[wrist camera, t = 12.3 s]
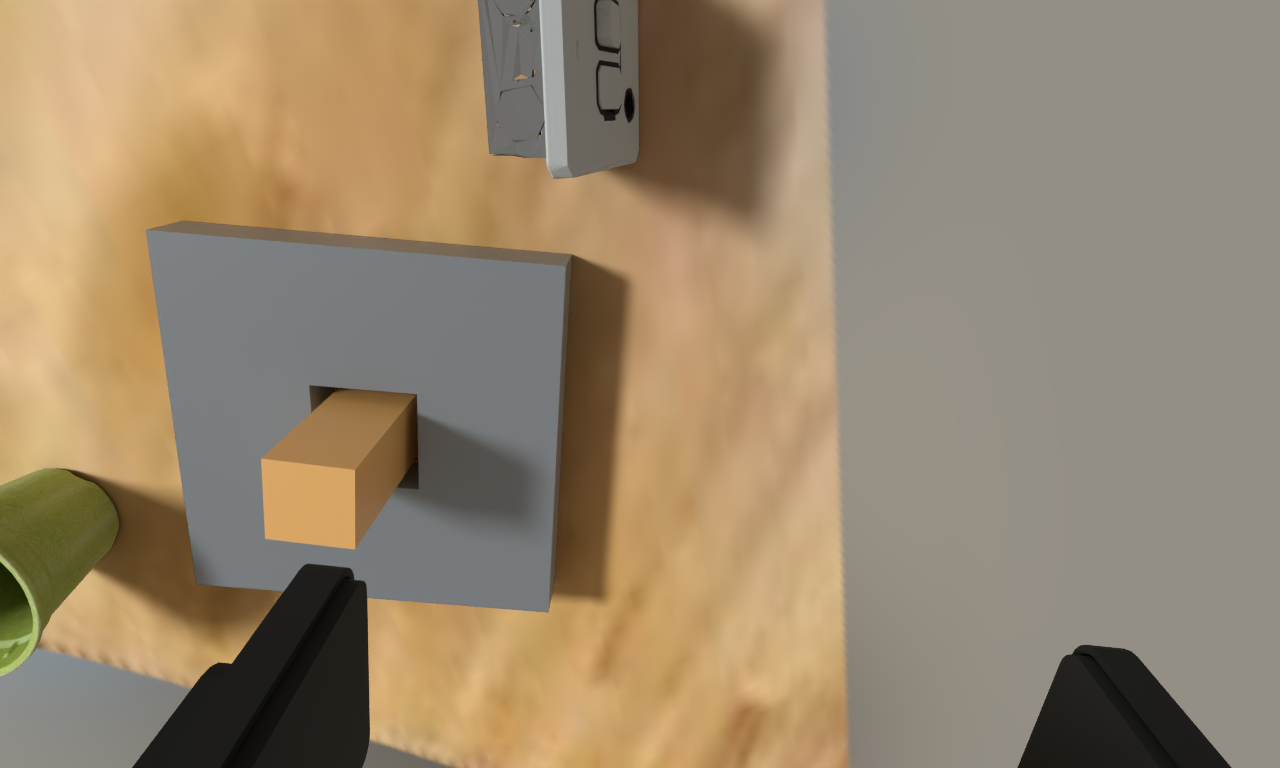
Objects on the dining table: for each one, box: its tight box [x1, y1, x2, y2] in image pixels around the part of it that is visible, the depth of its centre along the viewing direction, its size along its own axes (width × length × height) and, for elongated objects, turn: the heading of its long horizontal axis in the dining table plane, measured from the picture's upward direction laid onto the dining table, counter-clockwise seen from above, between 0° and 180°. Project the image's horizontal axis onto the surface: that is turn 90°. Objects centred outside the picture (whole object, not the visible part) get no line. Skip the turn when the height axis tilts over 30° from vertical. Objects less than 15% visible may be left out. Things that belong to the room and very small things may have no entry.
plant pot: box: [0, 469, 119, 676], centre depth 41 cm, size 9×9×9 cm
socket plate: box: [146, 221, 572, 612], centre depth 41 cm, size 20×20×3 cm
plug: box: [261, 388, 418, 550], centre depth 38 cm, size 4×4×10 cm
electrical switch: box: [478, 0, 639, 179], centre depth 32 cm, size 9×5×9 cm, turn 0°
